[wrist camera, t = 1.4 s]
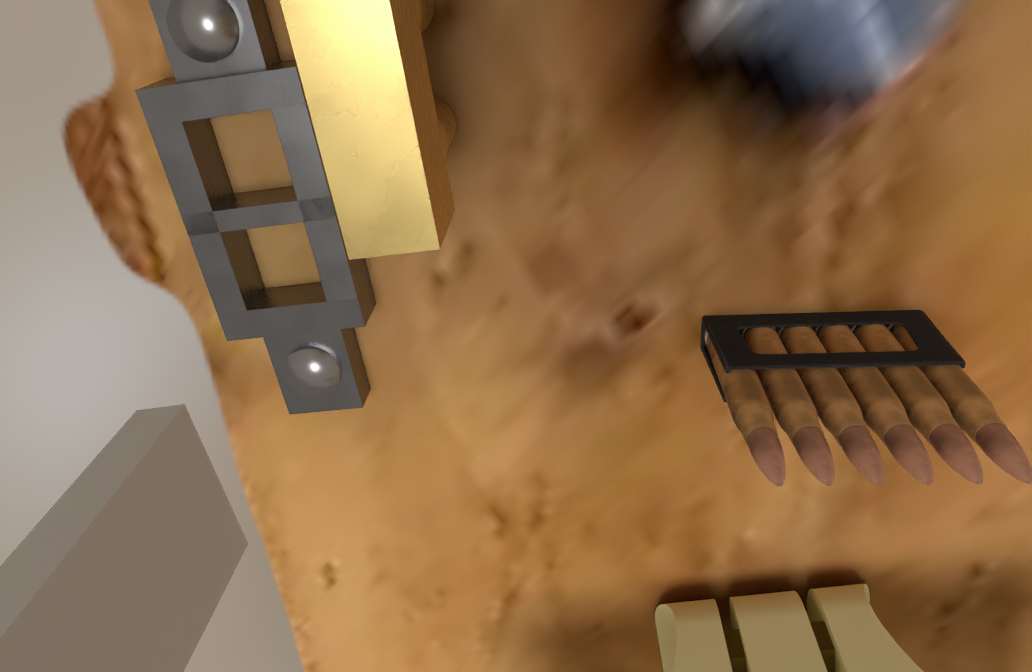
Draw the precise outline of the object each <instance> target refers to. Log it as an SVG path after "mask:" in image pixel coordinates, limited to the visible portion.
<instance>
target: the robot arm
mask: <svg viewBox="0 0 1032 672" xmlns="http://www.w3.org/2000/svg"><path fill="white" fill-rule="evenodd" d="M247 545H248V542H247V540H246V538H245V536H244V534H243V531H242V529H241V527H240V525H239V523H238V521H237V518H236V516H235V514H234V512H233V509H232V507H231V505H230V503H229V501H228V499H227V496H226V494H225V492H224V490H223V487H222V485H221V483H220V481H219V479H218V477H217V475H216V472H215V470H214V468H213V466H212V463H211V461H210V459H209V457H208V455H207V453H206V450H205V448H204V446H203V444H202V441H201V440H200V437H199V435H198V433H197V431H196V428H195V426H194V424H193V422H192V420H191V417H190V415H189V413H188V411H187V409H186V406H185V404H182V405H175V406H168V407H160V408H152V409H145V410H137V411H136V412H135V413H134V414H133V415H132V417H131V418H130V419H129V420H128V421H127V422H126V423H125V424H124V426H123V427H122V428H121V429H120V430H119V431H118V432H117V434H116V435H115V436H114V437H113V438H112V439H111V440H110V442H109V443H108V444H107V445H106V446H105V447H104V448H103V450H102V451H101V452H100V453H99V454H98V455H97V456H96V458H95V459H94V460H93V461H92V462H91V463H90V464H89V466H88V467H87V468H86V469H85V470H84V472H82V474H81V475H80V476H79V477H78V478H77V479H76V480H75V482H74V483H73V484H72V485H71V486H70V487H69V488H68V490H67V491H66V492H65V493H64V494H63V495H62V497H61V498H60V499H59V500H58V501H57V502H56V503H55V505H54V506H53V507H52V508H51V509H50V510H49V511H48V512H47V514H46V515H45V516H44V517H43V518H42V519H41V520H40V522H39V523H38V524H37V525H36V526H35V527H34V529H33V530H32V531H31V532H30V533H29V534H28V535H27V536H26V538H25V539H24V540H23V541H22V542H21V543H20V544H19V546H18V547H17V548H16V549H15V550H14V551H13V552H12V554H11V555H10V556H9V557H8V558H7V559H6V560H5V562H4V563H3V564H2V565H1V566H0V672H184V669H185V668H186V665H187V664H188V662H189V660H190V658H191V655H192V654H193V652H194V650H195V648H196V646H197V644H198V642H199V640H200V638H201V636H202V634H203V632H204V630H205V628H206V626H207V624H208V622H209V620H210V618H211V616H212V614H213V612H214V610H215V608H216V606H217V604H218V602H219V600H220V598H221V596H222V594H223V592H224V591H225V589H226V587H227V585H228V583H229V581H230V579H231V577H232V575H233V573H234V571H235V569H236V567H237V565H238V563H239V561H240V559H241V556H242V555H243V553H244V551H245V549H246V547H247Z"/></svg>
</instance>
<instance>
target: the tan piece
mask: <svg viewBox="0 0 1032 672" xmlns="http://www.w3.org/2000/svg"><path fill="white" fill-rule="evenodd" d="M280 2H281V6H282V10H283V14H284V18H285V21H286V25H287V29H288V33H289V36H290V40H291V44H292V48H293V51H294V55H295V59H296V63H297V66H298V70H299V74H300V78H301V81H302V85H303V89H304V93H305V97H306V100H307V104H308V108H309V112H310V115H311V119H312V123H313V127H314V130H315V134H316V138H317V142H318V145H319V149H320V153H321V157H322V160H323V164H324V168H325V172H326V176H327V179H328V183H329V187H330V191H331V194H332V198H333V202H334V206H335V209H336V213H337V217H338V221H339V224H340V228H341V232H342V236H343V239H344V243H345V247H346V251H347V255H348V258H349V260H352V259H360V258H369V257H378V256H386V255H395V254H404V253H412V252H421V251H430V250H438V249H440V248H441V245H442V243H443V240H444V237H445V235H446V232H447V229H448V227H449V224H450V221H451V219H452V216H453V213H454V211H455V209H454V204H453V198H452V193H451V188H450V183H449V177H448V172H447V167H446V161H445V154H446V152H447V150H448V148H449V146H450V144H451V142H452V140H453V138H454V136H455V133H456V118H455V115H454V113H453V111H452V110H451V108H450V107H449V106H448V105H447V104H446V103H445V102H443V101H442V100H440V99H437V98H434V97H433V93H432V87H431V82H430V77H429V72H428V66H427V61H426V56H425V50H424V45H423V40H422V35H421V32H422V31H423V30H425V29H426V28H427V27H428V26H429V24H430V23H431V21H432V19H433V17H434V13H435V0H280Z"/></svg>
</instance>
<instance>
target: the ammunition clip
mask: <svg viewBox="0 0 1032 672" xmlns="http://www.w3.org/2000/svg"><path fill="white" fill-rule="evenodd" d="M700 348H701V350H702V352H703V354H704V357H705V359H706V361H707V364H708V366H709V368H710V371H711V373H712V375H713V377H714V380H715V382H716V384H717V387H718V389H719V391H720V394H721V396H722V398H723V401H724V402H727V404H728V406H729V409H730V412H731V415H732V418H733V420H734V422H735V424H736V426H737V427H738V429H739V430H740V432H741V433H742V434H743V437H744V439H745V441H746V443H747V445H748V446H749V449H750V452H751V454H752V456H753V458H754V460H755V462H756V463H757V465H758V467H759V468H760V470H761V471H762V472H763V474H764V475H765V476H766V477H767V478H768V480H770V481H771V482H772V483H773V484H775V485H776V486H782V485H783V483H784V480H785V460H784V455H783V450H782V446H781V444H780V441H779V439H778V434H777V431H776V428H775V425H774V419H773V412H774V415H775V417H776V419H777V421H778V423H779V425H780V426H781V428H782V429H783V430H784V431H785V432H786V433H787V435H788V436H789V438H790V440H791V442H792V444H793V445H794V446H795V448H796V450H797V452H798V454H799V456H800V458H801V459H802V461H803V463H804V464H805V466H806V467H807V468H808V470H809V471H810V472H811V473H812V474H813V475H814V476H815V477H816V478H817V479H818V480H819V481H820V482H822V483H823V484H825V485H827V486H831V485H832V484H833V481H834V464H833V458H832V455H831V451H830V448H829V445H828V443H827V441H826V439H825V437H824V434H823V431H822V428H821V426H820V424H819V421H818V416H819V418H820V419H821V421H822V423H823V425H824V426H825V427H826V428H827V429H828V430H829V431H830V432H831V433H832V434H833V436H834V437H835V439H836V440H837V442H838V444H839V445H840V446H841V447H842V449H843V451H844V452H845V454H846V456H847V457H848V459H849V460H850V462H851V463H852V464H853V465H854V467H855V468H856V469H857V470H858V471H859V472H860V473H861V474H862V475H863V476H864V477H865V478H867V479H868V480H869V481H871V482H872V483H874V484H876V485H882V484H883V481H884V469H883V463H882V459H881V456H880V453H879V451H878V448H877V446H876V444H875V442H874V440H873V438H872V437H871V435H870V432H869V430H868V428H867V426H866V424H867V425H868V426H869V427H870V428H871V429H872V430H873V431H874V432H875V433H876V434H877V435H878V436H879V438H880V439H881V440H882V442H883V443H884V445H886V446H887V448H888V449H889V451H890V452H891V454H892V455H893V457H894V458H895V459H896V460H897V461H898V463H899V464H900V465H901V466H902V467H903V468H904V469H905V470H906V471H907V472H908V473H909V474H911V475H912V476H913V477H914V478H916V479H917V480H919V481H920V482H922V483H924V484H927V485H930V484H932V483H933V469H932V465H931V461H930V458H929V456H928V454H927V452H926V449H925V447H924V445H923V443H922V442H921V440H920V438H919V437H918V435H917V434H916V432H915V430H914V428H915V429H916V430H918V431H919V432H920V433H921V434H922V435H923V436H924V437H925V439H926V440H927V441H928V442H929V443H930V444H931V445H932V446H933V447H934V449H935V450H936V451H937V453H938V454H939V455H940V457H941V458H942V459H943V460H944V461H945V462H946V463H947V464H948V465H949V466H950V467H951V468H952V469H954V470H955V471H956V472H957V473H959V474H960V475H961V476H963V477H964V478H966V479H967V480H969V481H971V482H973V483H976V484H981V483H982V482H983V471H982V468H981V464H980V462H979V459H978V457H977V455H976V453H975V451H974V449H973V447H972V445H971V443H970V442H969V440H968V439H967V437H966V436H965V435H964V433H963V432H962V431H961V430H963V431H964V432H965V433H967V434H968V435H969V437H970V438H971V439H972V440H973V441H974V442H975V443H976V444H977V445H978V446H979V447H980V448H981V449H982V450H983V451H984V453H985V454H986V455H987V456H988V457H989V458H990V459H991V460H992V461H993V462H994V463H996V464H997V465H998V466H999V467H1000V468H1001V469H1003V470H1004V471H1005V472H1007V473H1008V474H1010V475H1011V476H1013V477H1014V478H1016V479H1018V480H1020V481H1022V482H1025V483H1028V484H1031V483H1032V468H1031V465H1030V463H1029V460H1028V458H1027V456H1026V454H1025V452H1024V450H1023V449H1022V447H1021V446H1020V444H1019V443H1018V441H1017V440H1016V438H1015V437H1014V436H1013V435H1012V434H1011V432H1010V431H1009V430H1008V429H1007V427H1006V425H1005V424H1004V423H1003V421H1002V420H1001V419H1000V417H999V416H998V415H997V413H996V411H995V409H994V406H993V405H992V403H991V401H990V400H989V399H988V398H987V397H986V395H985V394H984V393H983V392H982V391H981V390H980V389H979V388H978V386H977V385H976V384H975V383H974V382H973V381H972V380H971V379H970V377H969V376H968V375H967V374H966V373H965V372H964V371H963V370H962V368H965V361H964V360H963V359H962V357H961V356H960V355H959V354H958V353H957V352H956V350H955V349H954V348H953V347H952V346H951V345H950V343H949V342H948V341H947V340H946V339H945V337H944V336H943V335H942V334H941V333H940V331H939V330H938V329H937V328H936V326H935V325H934V324H933V323H932V322H931V320H930V319H929V318H928V317H927V315H926V314H925V313H924V312H922V311H920V310H901V311H864V312H828V313H791V314H755V315H718V316H704V317H703V318H702V331H701V346H700ZM959 365H960V366H961V367H960V366H959ZM772 410H773V411H772ZM864 421H865V422H864ZM865 423H866V424H865ZM913 427H914V428H913Z"/></svg>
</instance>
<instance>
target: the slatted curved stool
mask: <svg viewBox="0 0 1032 672" xmlns="http://www.w3.org/2000/svg"><path fill="white" fill-rule="evenodd" d="M729 609H730V619H731V629H732V630H725V631H723V628H722V623H721V619H720V615H719V611H718V607H717V604H716V601H715V599H707V600H697V601H687V602H677V603H667V604H661V605H659V606H658V607H657V608H656V611H655V623H656V629H657V635H658V641H659V647H660V653H661V659H662V665H663V671H664V672H924V671H923V670H922V669H921V668H920V667H918V666H917V665H916V664H915V663H914V661H913V660H912V659H911V658H910V657H909V656H908V655H907V654H906V653H905V652H904V651H903V649H902V648H901V647H900V646H899V645H898V644H897V643H896V641H895V640H894V639H893V638H892V636H891V635H890V634H889V633H888V631H887V630H886V629H885V628H884V626H883V625H882V624H881V622H880V621H879V619H878V618H877V616H876V614H875V613H874V611H873V609H872V607H871V605H870V593H869V589H868V586H867V584H855V585H845V586H835V587H825V588H816V589H810V590H809V591H808V593H807V613H806V610H805V608H804V605H803V603H802V601H801V598H800V596H799V595H798V593H797V592H796V591H786V592H776V593H766V594H756V595H747V596H737V597H730V598H729Z"/></svg>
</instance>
